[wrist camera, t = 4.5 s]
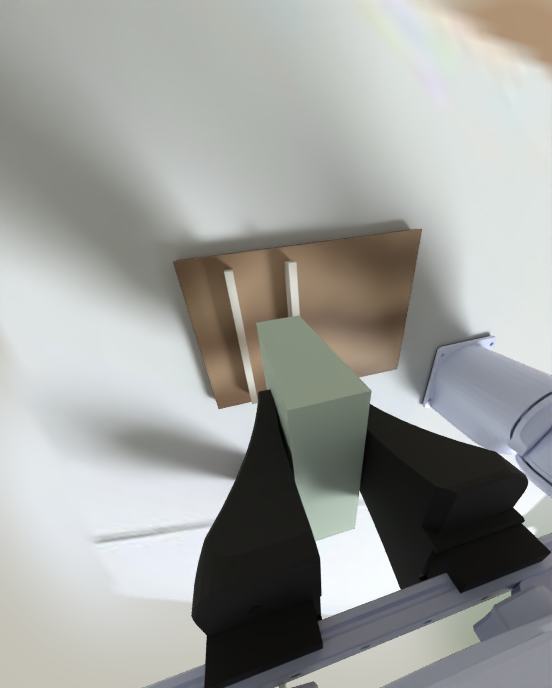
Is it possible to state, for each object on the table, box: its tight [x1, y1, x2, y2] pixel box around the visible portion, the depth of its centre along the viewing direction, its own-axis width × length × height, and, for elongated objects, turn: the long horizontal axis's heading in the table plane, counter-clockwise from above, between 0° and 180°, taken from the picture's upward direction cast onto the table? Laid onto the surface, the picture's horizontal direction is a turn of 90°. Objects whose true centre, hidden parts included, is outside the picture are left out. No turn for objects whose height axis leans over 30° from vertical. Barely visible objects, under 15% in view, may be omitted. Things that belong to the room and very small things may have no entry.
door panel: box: [256, 315, 371, 541], centre depth 11 cm, size 8×2×7 cm, turn 6°
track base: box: [173, 229, 422, 409], centre depth 19 cm, size 14×20×3 cm
